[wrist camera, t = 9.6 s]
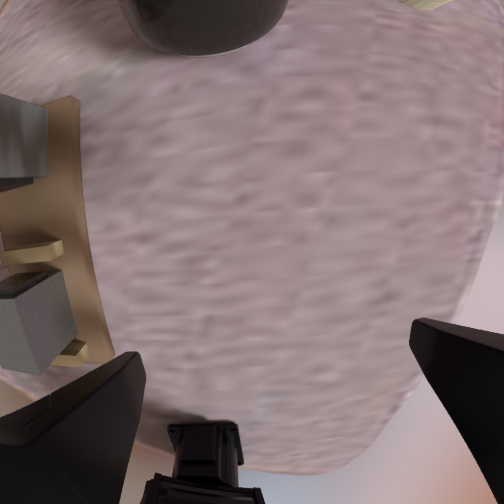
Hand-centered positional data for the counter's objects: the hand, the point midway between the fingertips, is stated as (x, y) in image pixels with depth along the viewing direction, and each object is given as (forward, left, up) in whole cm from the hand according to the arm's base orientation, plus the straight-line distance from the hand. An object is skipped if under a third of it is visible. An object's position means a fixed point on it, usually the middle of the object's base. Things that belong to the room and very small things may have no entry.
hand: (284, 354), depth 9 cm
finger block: (-2, +16, -10) cm, 19 cm away
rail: (+3, +16, -12) cm, 20 cm away
